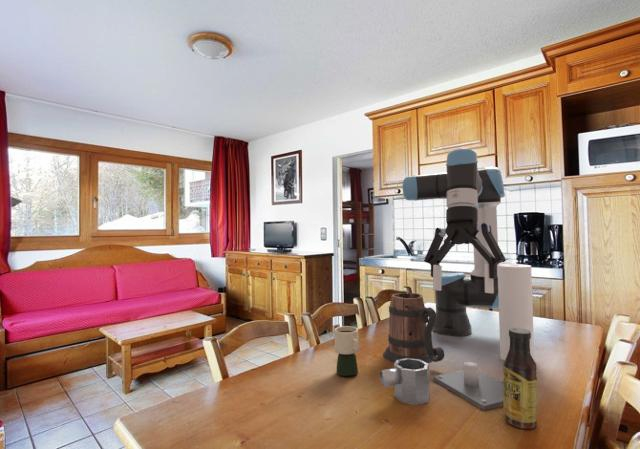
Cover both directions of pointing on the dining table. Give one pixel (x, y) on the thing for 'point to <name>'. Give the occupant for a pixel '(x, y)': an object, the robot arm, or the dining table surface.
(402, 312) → the tankard
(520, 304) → the cylinder container
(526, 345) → the sauce bottle
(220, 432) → the dining table surface
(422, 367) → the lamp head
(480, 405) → the grey peg base plate
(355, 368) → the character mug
